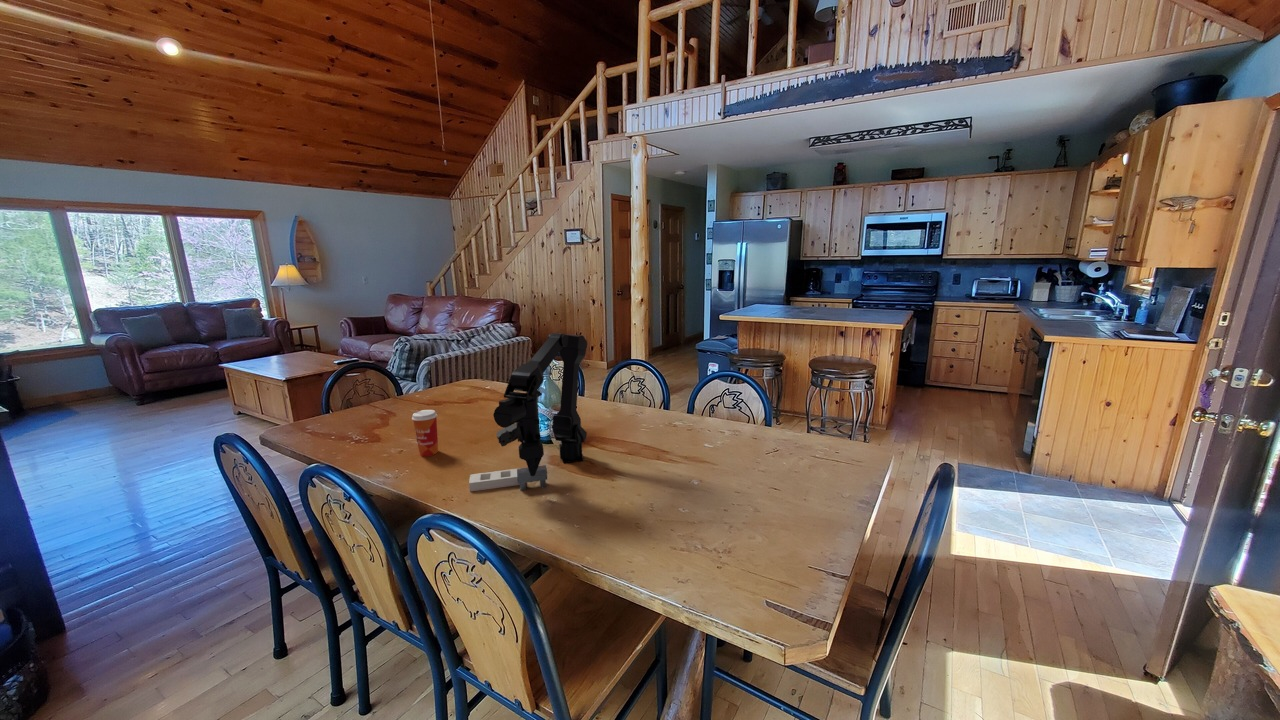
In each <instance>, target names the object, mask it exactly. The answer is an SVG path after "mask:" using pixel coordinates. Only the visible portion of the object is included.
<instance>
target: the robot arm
mask: <svg viewBox="0 0 1280 720" xmlns="http://www.w3.org/2000/svg"><path fill="white" fill-rule="evenodd" d="M587 348H588V341H587V339H586V338H585V336H584V335H582V334H565V333H561V332H559V333H558V332H551V333H549V334H548V337H547V339H546V341H545V342H544V343H543V344H542V346H541V347H540V348H538V350H537V351H536V353H534V355H533V356H532V358H531V359H530V360H529V361H528V362H526V363H523V364H521V365H519V366H518V367H517V368H515V370H513V371H512V373H511V374H510V377H509V379H508V382H507V385H506V388H505V391H504V394H503V398H504V399H501V400H499V401H498V406H497V407H495V408H494V412H493V419H494V420H493V421H495V423H496V424H497V425H498V427H501V429H499V430H498V431H496V438H497V440H498V443H499V444H500V445H501V447H505V446H507V445H509V444H510V443H513V442H514V441H517V443H519V442H520V445H518V457H519V459H520V460H523V461H525V463H526V466H527V468H528V469H529V472H530V475H531V476H535V474H536V471H537V469H538V466H540V463H541V461H542V458H543V457H544V453H545V452H544V445H543V443H542V442H541V441H540V440H541V437H542V436H541V430H540V428H541V427H540V423H541V422H540V416H539V415H540V413H539V401H538V398H539V397H541V396H542V395H543V394H542V392H541V391H539V389H540V388H541V385H542V384H543V382H544V374H545V371H546V370H547V369H548V368H549V367H550V365H551V364H552V362H553V361H554V359H555V358H557V356H558V355H559V357H560V358H561V361H562V363H563V365H562V366H563V367H562V380H561V392H560V393H561V395H560V396H561V397H560V408H559V411H558V412H557V413H556V414H553V416H552V426H551V428H552V433H553V436H554V439H555V441H559V442H560V443H559V444H558V447H559V448H558V451H559V458H560V460H561V463H563V464H567V463H574V462H575V463H576V462H583V461H584V457H583V443H585V442H586V440H587V436H588V435H587V434H588V432H587V431H586V429H584V428H583V427H582V419H581V416H580V414H579V412H578V411H577V405H578V393H579V392H578V390H579V389H578V388H579V376H580V374H579V373H580V364H581V362H582V361H583V359H584V358H585V357H586V354H587Z"/></svg>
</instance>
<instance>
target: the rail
mask: <svg viewBox="0 0 1280 720" xmlns="http://www.w3.org/2000/svg"><path fill="white" fill-rule="evenodd" d="M517 469H521V468H510V469H504V470H502V469H501V470H495V471H489V472H480V473H479V472H478V473H473V474H470V475H469V482H468V488H469V492H476V491H477V492H478V491H484V490H491V489H499V488H506V487H513V486H520V483H519V484H518V479H517Z"/></svg>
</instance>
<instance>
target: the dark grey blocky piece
mask: <svg viewBox="0 0 1280 720" xmlns="http://www.w3.org/2000/svg"><path fill="white" fill-rule="evenodd" d="M516 469H517V479H518V484H519V483H520V485H519V490H520V492H521V491H526V490H527V487H526V486H527V485H526V483H532V482H539V487H540V488H541V489H542V488H546V487H547V483H546V482H547V480H548V469H547V465H539V466H538V469H537V471H536V474H535V476H531V475H530V472H529V469H528V467H522V468H521V469H518V468H516Z"/></svg>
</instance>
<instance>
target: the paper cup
mask: <svg viewBox="0 0 1280 720" xmlns="http://www.w3.org/2000/svg"><path fill="white" fill-rule="evenodd" d="M437 417H438V414H437V412H436V411H435V410H434V409H423V410H422V409H421V410H418V411H416V412H414V413H412V417H411V420H412V422H413V426H414V433H415V436H416V442H417V447H418V452H419V456H421V457H432V456H434V454H435V455H436V453H437V452H438V453H439V444H438V442H439V441H438V424H437ZM438 453H437V454H438Z"/></svg>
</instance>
